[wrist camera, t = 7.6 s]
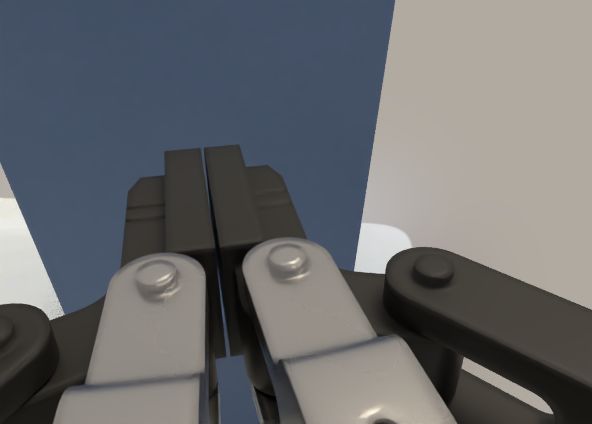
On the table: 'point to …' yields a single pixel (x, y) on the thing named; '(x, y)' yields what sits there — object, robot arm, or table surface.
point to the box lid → (183, 113)
